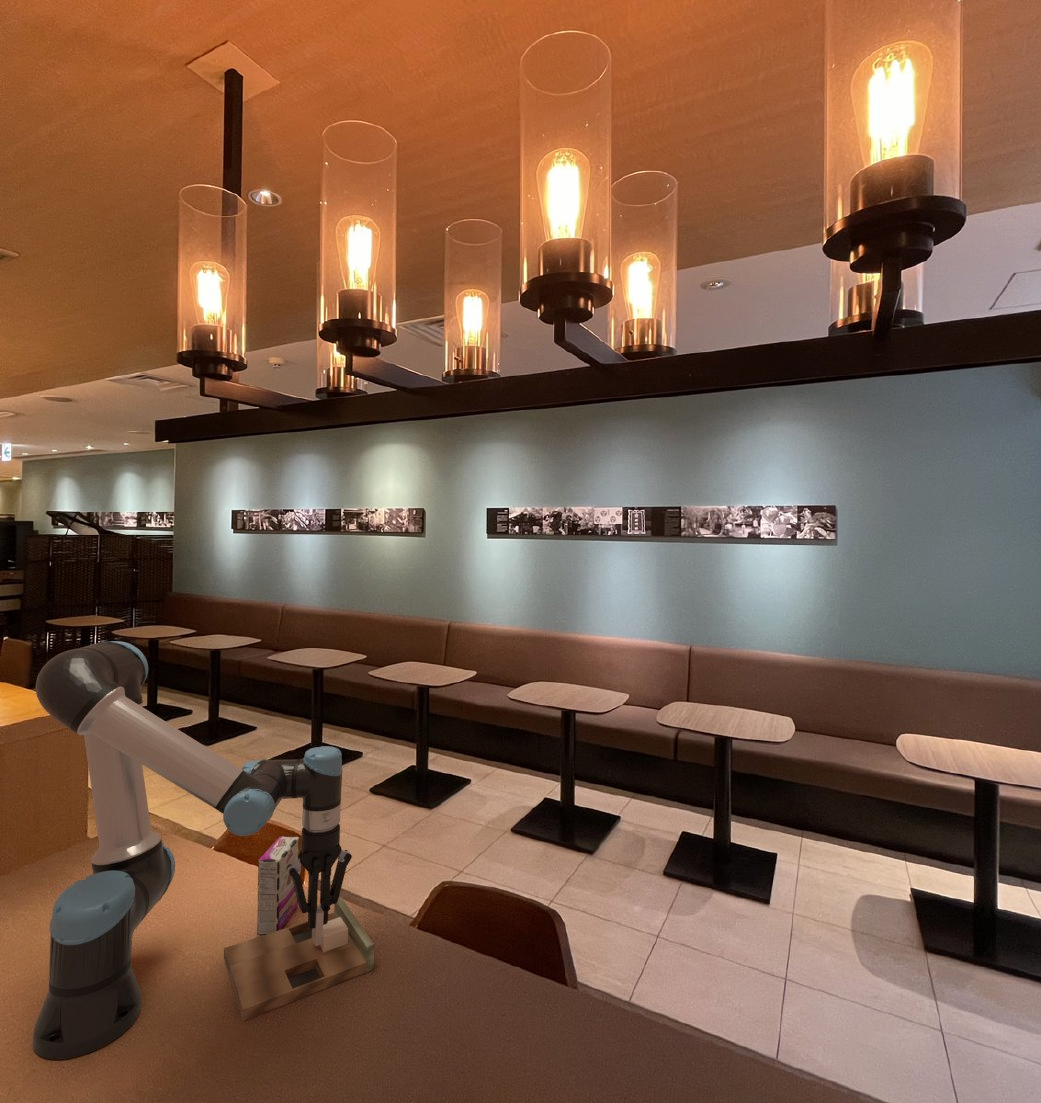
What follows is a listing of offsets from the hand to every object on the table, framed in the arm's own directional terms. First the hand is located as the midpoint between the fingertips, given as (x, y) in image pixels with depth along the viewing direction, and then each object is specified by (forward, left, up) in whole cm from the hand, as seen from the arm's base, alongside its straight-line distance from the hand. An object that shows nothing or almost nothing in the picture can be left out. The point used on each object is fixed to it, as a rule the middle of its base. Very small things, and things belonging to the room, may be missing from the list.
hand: (317, 941), depth 121 cm
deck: (-4, 0, -3) cm, 5 cm away
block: (+3, 0, -1) cm, 3 cm away
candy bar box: (-4, +17, -3) cm, 18 cm away
